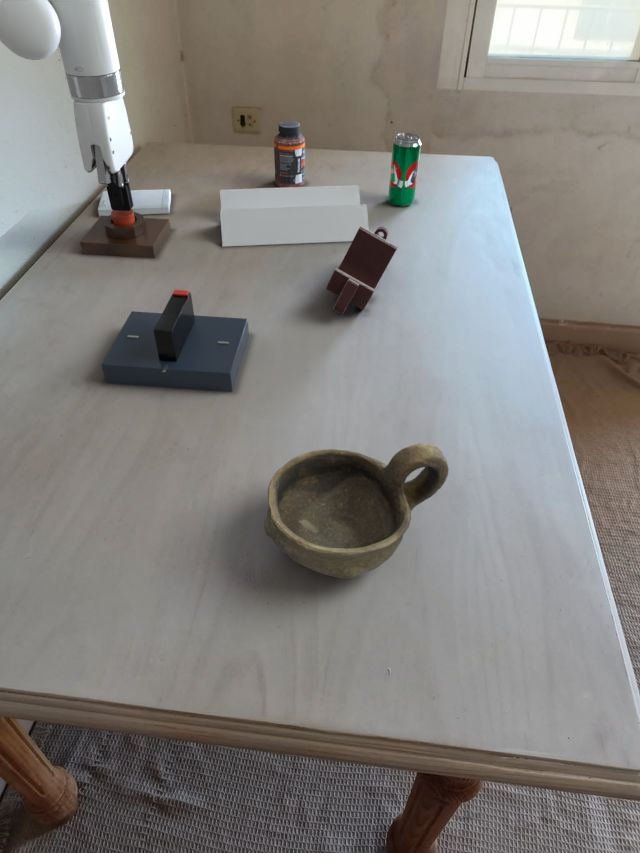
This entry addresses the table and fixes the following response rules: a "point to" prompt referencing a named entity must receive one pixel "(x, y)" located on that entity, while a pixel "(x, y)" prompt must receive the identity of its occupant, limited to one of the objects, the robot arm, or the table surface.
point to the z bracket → (291, 215)
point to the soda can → (404, 169)
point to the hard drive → (141, 202)
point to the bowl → (349, 506)
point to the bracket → (361, 269)
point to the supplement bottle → (289, 155)
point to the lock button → (122, 217)
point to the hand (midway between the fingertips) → (122, 208)
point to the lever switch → (198, 361)
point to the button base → (126, 237)
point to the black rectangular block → (174, 326)
